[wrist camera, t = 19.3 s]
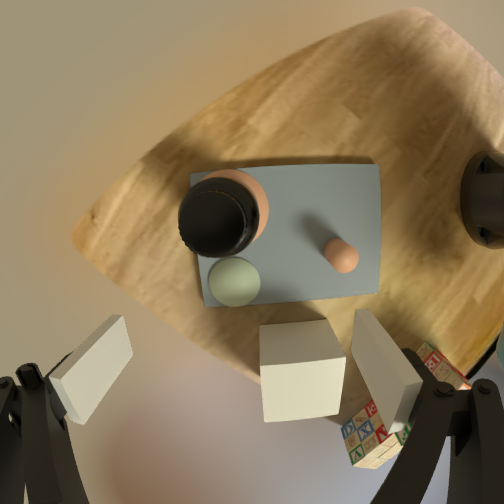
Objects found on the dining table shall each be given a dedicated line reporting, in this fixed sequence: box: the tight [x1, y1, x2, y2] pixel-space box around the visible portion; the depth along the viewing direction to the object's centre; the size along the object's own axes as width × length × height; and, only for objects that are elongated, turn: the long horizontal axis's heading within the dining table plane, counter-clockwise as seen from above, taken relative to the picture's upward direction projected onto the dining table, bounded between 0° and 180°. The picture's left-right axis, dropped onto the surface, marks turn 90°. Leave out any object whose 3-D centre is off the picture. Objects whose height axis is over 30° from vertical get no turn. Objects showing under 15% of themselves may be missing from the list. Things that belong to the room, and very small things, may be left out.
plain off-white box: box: [259, 319, 346, 422], centre depth 32 cm, size 9×9×9 cm
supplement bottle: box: [178, 177, 260, 258], centre depth 25 cm, size 7×7×12 cm
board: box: [190, 164, 381, 307], centre depth 30 cm, size 22×16×5 cm
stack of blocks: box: [341, 342, 472, 469], centre depth 33 cm, size 21×6×12 cm, turn 147°
